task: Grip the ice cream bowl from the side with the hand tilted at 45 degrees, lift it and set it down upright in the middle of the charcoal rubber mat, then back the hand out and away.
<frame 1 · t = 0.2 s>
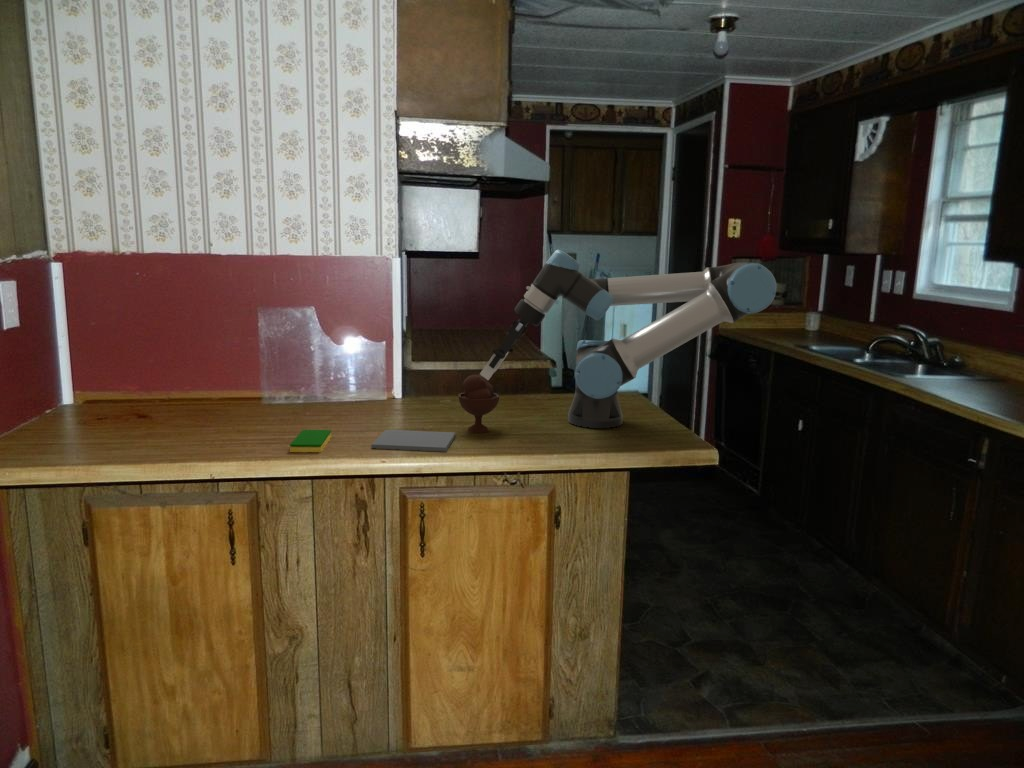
hand: (487, 373, 194), 15 cm above the table, tool tilted 35°, fingers open, 13 cm apart
ice cream bowl: (478, 431, 197), on the table
dish sponge: (311, 447, 180), on the table
mat: (414, 442, 184), on the table
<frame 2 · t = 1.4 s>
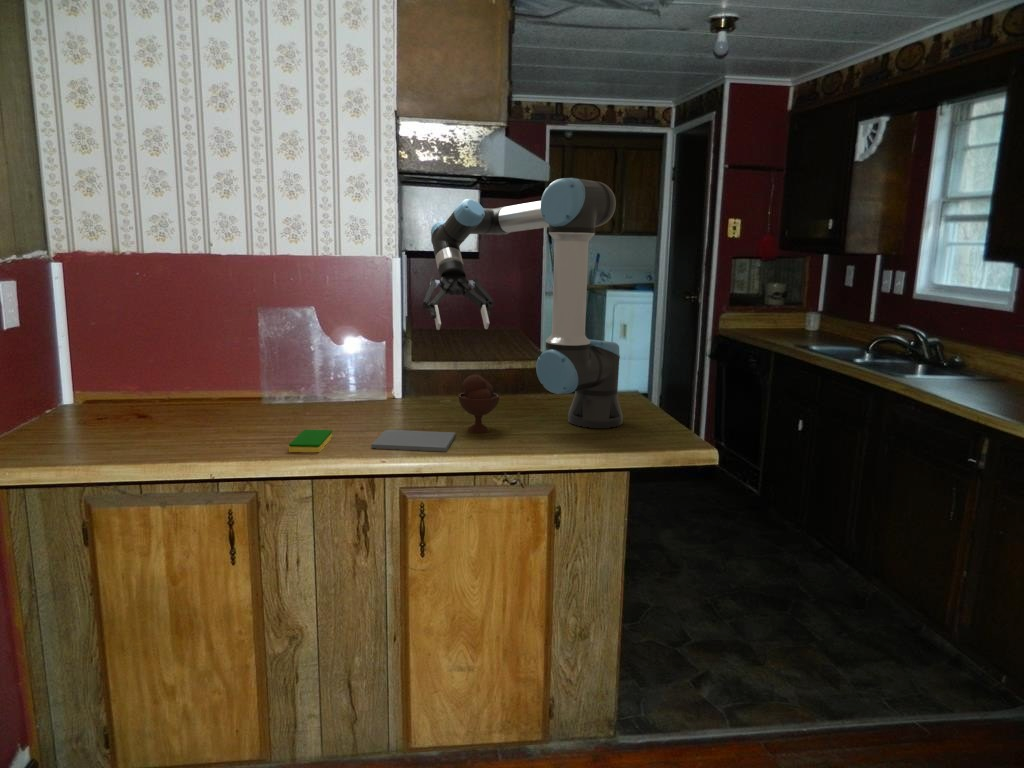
hand: (463, 326, 203), 26 cm above the table, tool tilted 45°, fingers open, 13 cm apart
nothing on the table moved.
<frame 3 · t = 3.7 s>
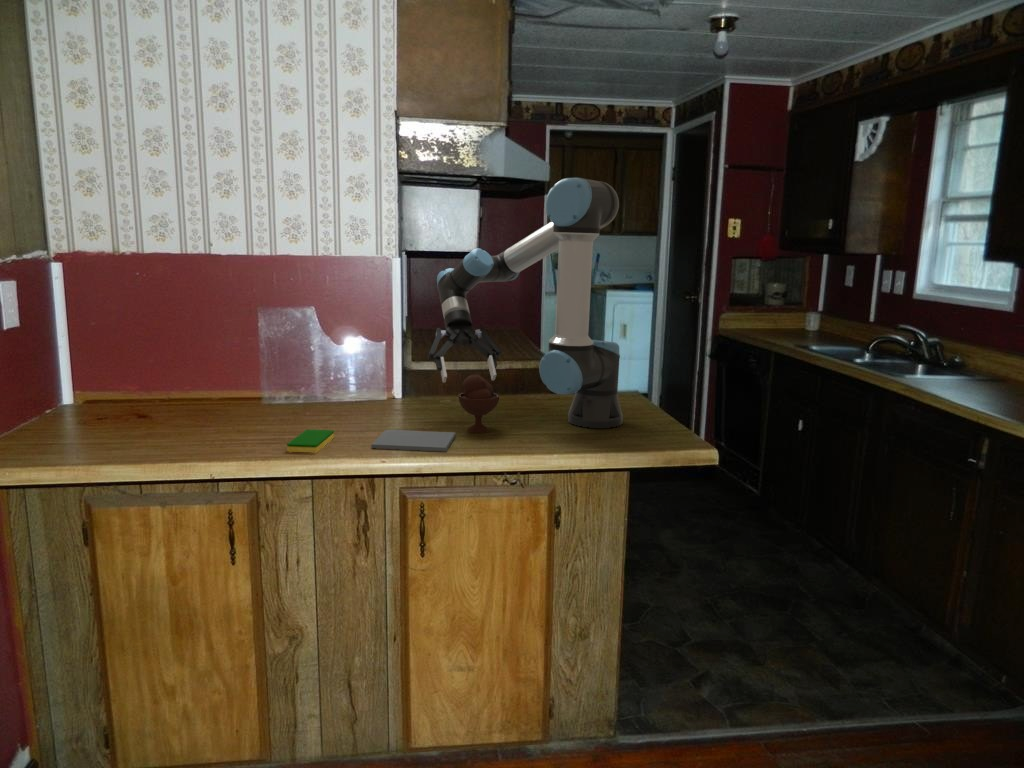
hand: (469, 378, 200), 13 cm above the table, tool tilted 45°, fingers open, 13 cm apart
nothing on the table moved.
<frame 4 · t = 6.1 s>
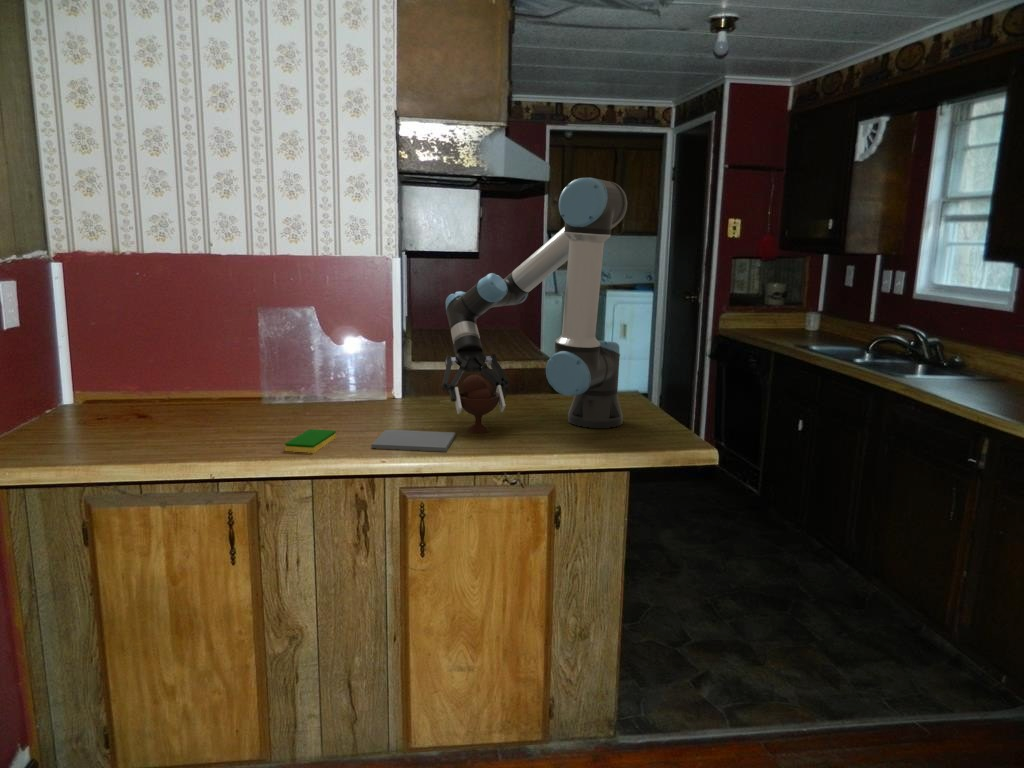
hand: (481, 409, 193), 6 cm above the table, tool tilted 45°, fingers closed on ice cream bowl, 11 cm apart
ice cream bowl: (478, 430, 197), on the table, touching gripper
everything else where it was.
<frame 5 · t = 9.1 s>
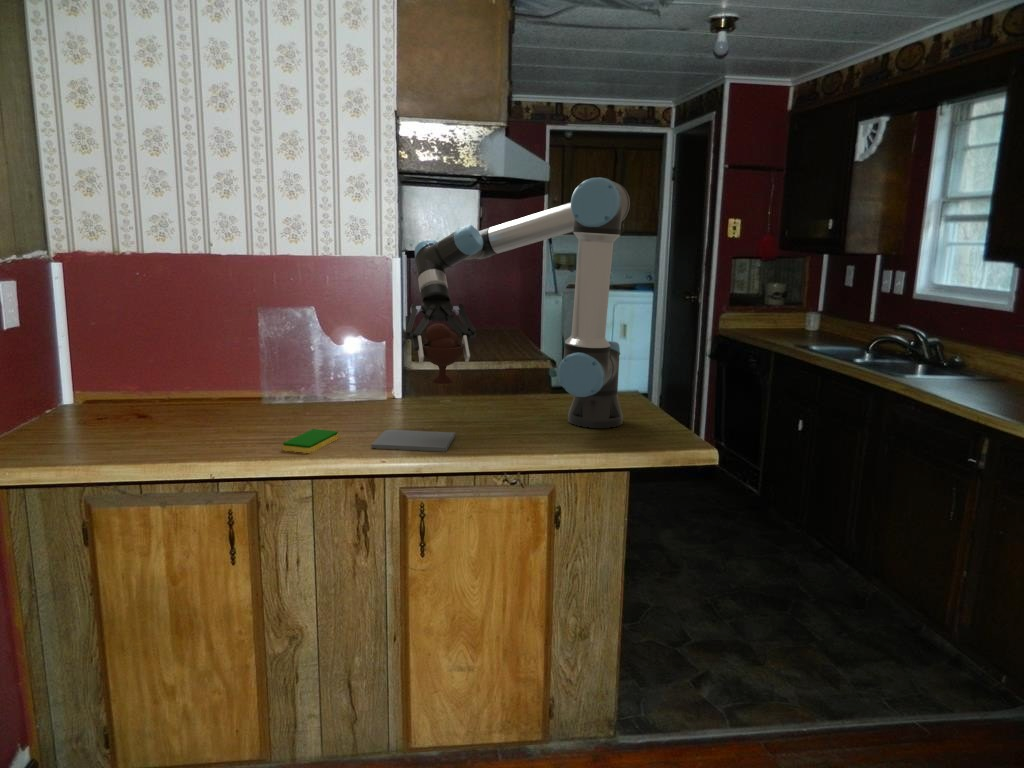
hand: (444, 359, 186), 20 cm above the table, tool tilted 45°, fingers closed on ice cream bowl, 11 cm apart
ice cream bowl: (442, 382, 190), point 14 cm above the table, touching gripper
when the fingers open (9 cm above the table, at t = 12.5 s): ice cream bowl drops 1 cm, resting on mat.
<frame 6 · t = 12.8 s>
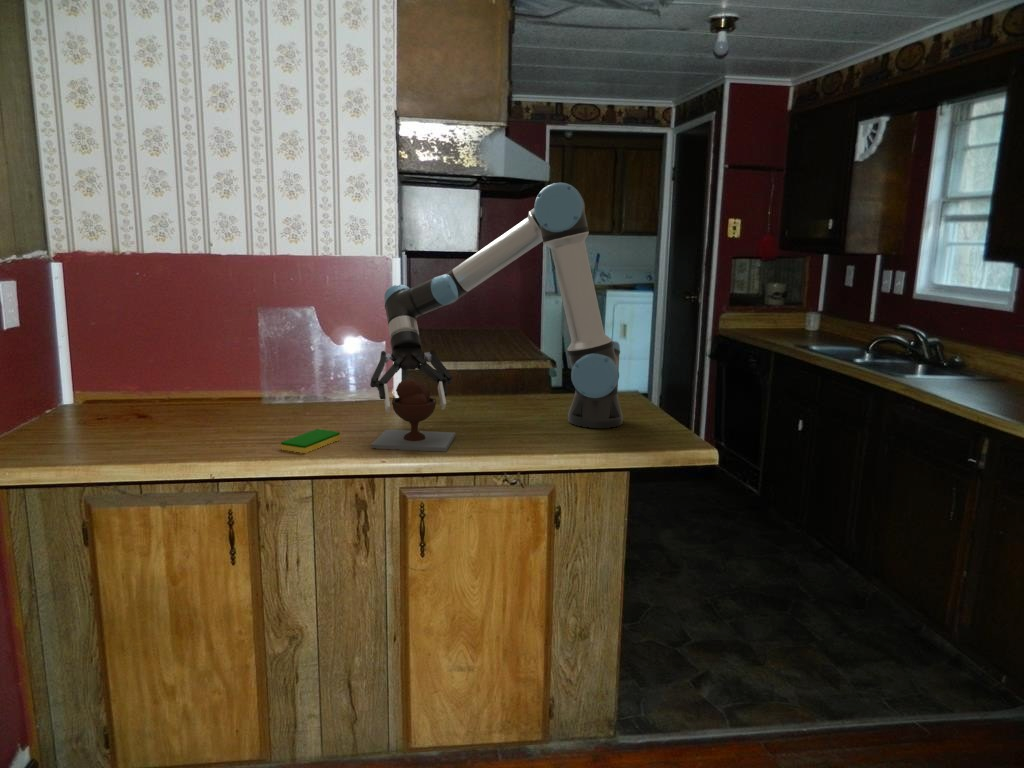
hand: (416, 408, 180), 9 cm above the table, tool tilted 45°, fingers open, 13 cm apart
ice cream bowl: (414, 438, 184), point 1 cm above the table, touching mat
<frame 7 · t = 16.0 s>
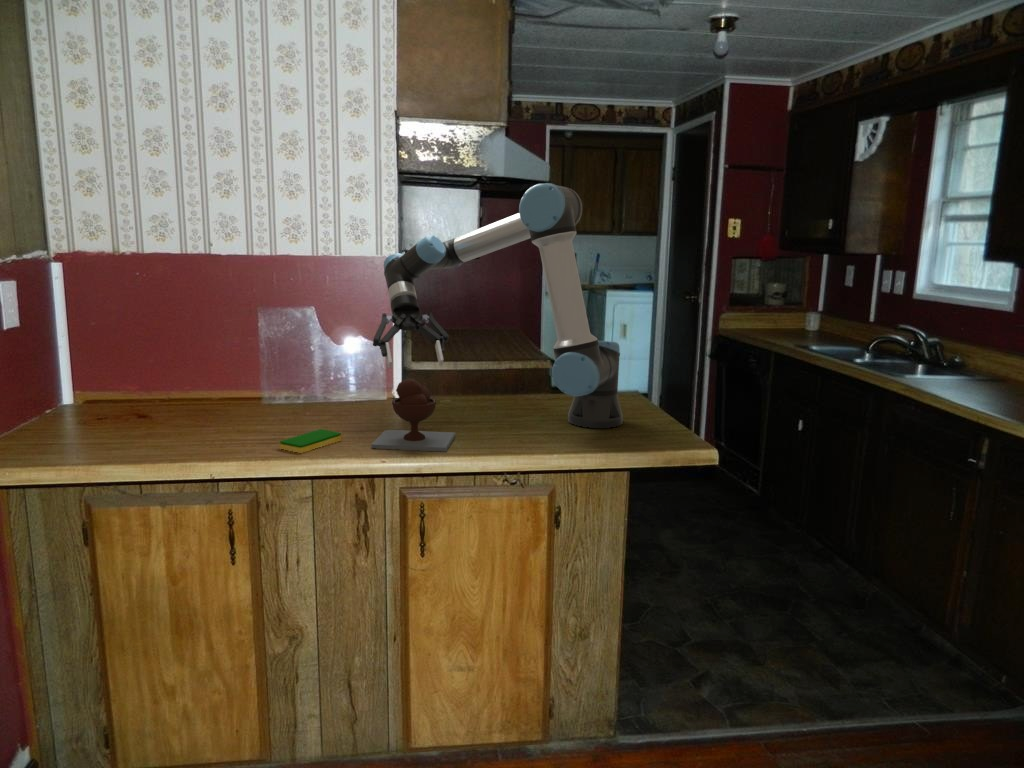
hand: (416, 364, 195), 17 cm above the table, tool tilted 45°, fingers open, 13 cm apart
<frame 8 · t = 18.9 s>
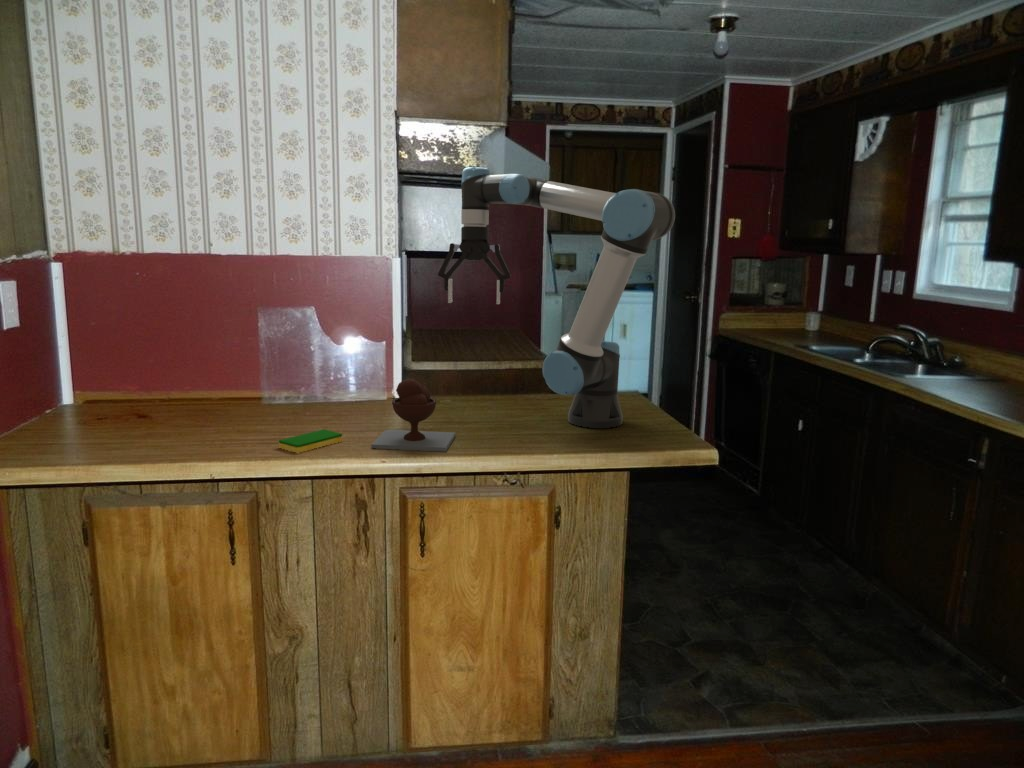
hand: (474, 303, 209), 32 cm above the table, tool pointing down, fingers open, 13 cm apart
at the end: ice cream bowl inside the target area on the mat (0.1 cm from its centre), point 0.8 cm above the mat's base; ice cream bowl tilted 0°; the gripper is holding nothing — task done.
